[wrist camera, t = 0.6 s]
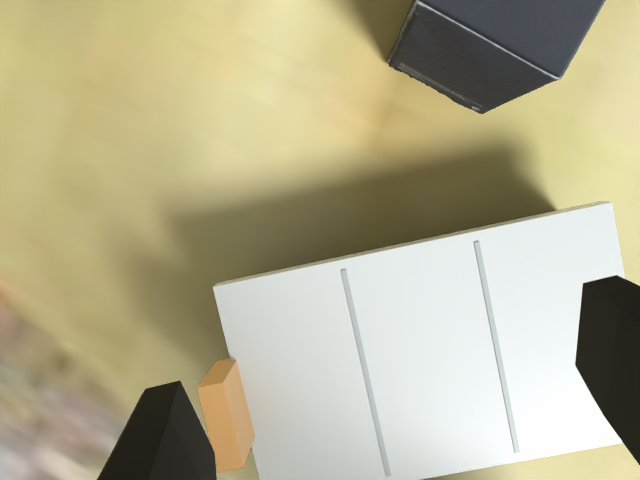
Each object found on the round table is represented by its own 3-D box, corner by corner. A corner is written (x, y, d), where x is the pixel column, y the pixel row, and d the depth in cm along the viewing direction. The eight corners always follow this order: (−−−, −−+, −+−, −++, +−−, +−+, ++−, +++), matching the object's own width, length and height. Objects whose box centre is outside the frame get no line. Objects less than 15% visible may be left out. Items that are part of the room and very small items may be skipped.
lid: (638, 426, 28) (690, 470, 23) (253, 497, 29) (237, 550, 25) (600, 201, 26) (647, 205, 22) (201, 286, 28) (175, 305, 24)
